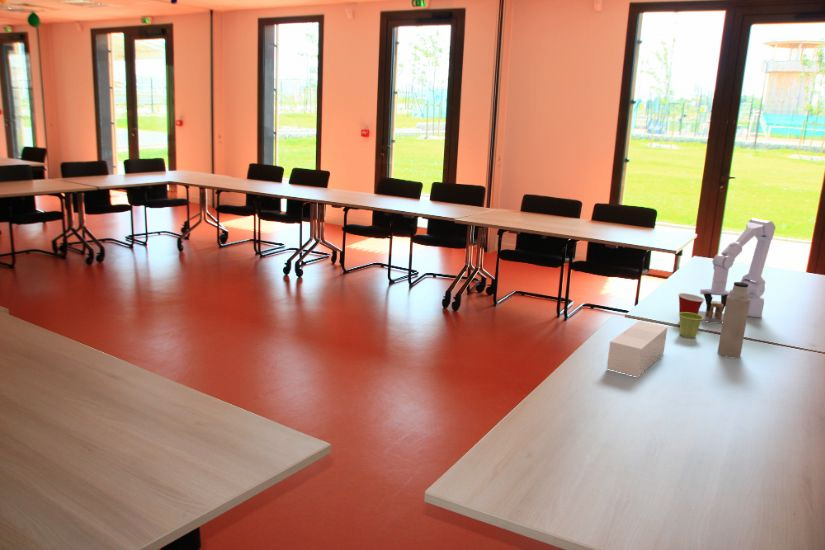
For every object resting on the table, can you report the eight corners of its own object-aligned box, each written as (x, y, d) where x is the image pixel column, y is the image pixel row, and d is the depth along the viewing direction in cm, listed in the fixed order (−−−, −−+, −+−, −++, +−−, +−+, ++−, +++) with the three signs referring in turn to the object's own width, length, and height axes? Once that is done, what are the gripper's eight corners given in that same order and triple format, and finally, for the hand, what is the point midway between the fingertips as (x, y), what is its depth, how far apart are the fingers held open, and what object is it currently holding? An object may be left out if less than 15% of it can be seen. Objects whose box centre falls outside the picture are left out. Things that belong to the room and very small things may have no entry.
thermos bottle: (716, 349, 268) (728, 279, 262) (739, 352, 266) (751, 282, 259) (718, 355, 261) (730, 284, 254) (741, 359, 259) (754, 286, 252)
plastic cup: (704, 327, 296) (709, 300, 293) (679, 325, 296) (683, 298, 293) (695, 319, 307) (699, 293, 304) (670, 318, 307) (674, 291, 304)
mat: (728, 314, 316) (728, 314, 316) (736, 325, 301) (736, 324, 301) (691, 311, 319) (691, 310, 319) (697, 321, 304) (698, 320, 304)
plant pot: (700, 334, 285) (703, 314, 283) (699, 341, 277) (702, 320, 275) (676, 330, 289) (679, 310, 287) (674, 336, 281) (677, 316, 278)
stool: (717, 315, 313) (719, 301, 311) (721, 318, 308) (723, 304, 306) (705, 314, 313) (707, 300, 312) (709, 317, 308) (711, 303, 307)
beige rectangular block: (636, 378, 234) (641, 348, 232) (606, 370, 240) (610, 341, 238) (663, 354, 260) (667, 327, 258) (635, 347, 266) (639, 320, 263)
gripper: (733, 280, 309) (728, 309, 313) (699, 277, 310) (695, 306, 314) (739, 284, 303) (733, 313, 306) (705, 281, 304) (700, 311, 307)
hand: (714, 310), depth 309 cm, fingers closed on stool, 5 cm apart
